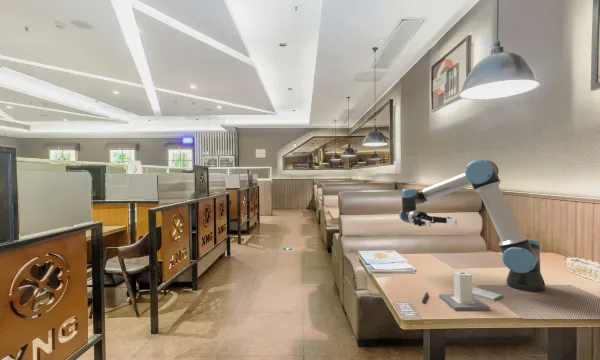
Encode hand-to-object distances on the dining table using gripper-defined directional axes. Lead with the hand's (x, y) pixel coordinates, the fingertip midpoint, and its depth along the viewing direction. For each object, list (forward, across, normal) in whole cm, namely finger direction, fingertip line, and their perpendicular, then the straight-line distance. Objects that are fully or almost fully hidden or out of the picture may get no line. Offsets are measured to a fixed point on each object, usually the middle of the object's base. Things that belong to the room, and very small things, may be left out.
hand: (443, 223), depth 141 cm
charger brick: (+14, +1, -30) cm, 33 cm away
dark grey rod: (+6, +14, -32) cm, 35 cm away
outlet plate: (+14, +1, -32) cm, 35 cm away
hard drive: (+7, -14, -33) cm, 36 cm away
